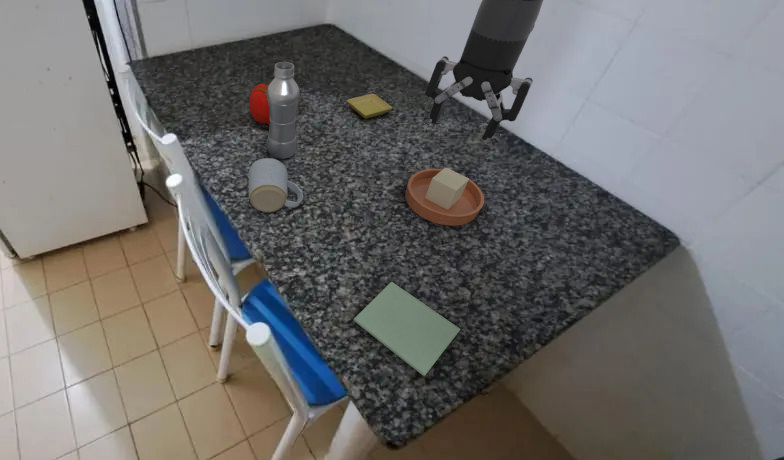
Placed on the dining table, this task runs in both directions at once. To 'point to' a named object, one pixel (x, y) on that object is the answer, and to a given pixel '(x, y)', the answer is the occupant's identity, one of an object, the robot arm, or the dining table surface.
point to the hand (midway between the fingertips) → (459, 129)
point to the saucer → (369, 105)
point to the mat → (407, 327)
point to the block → (446, 188)
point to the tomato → (260, 104)
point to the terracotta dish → (454, 216)
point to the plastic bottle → (282, 111)
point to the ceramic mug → (271, 186)
